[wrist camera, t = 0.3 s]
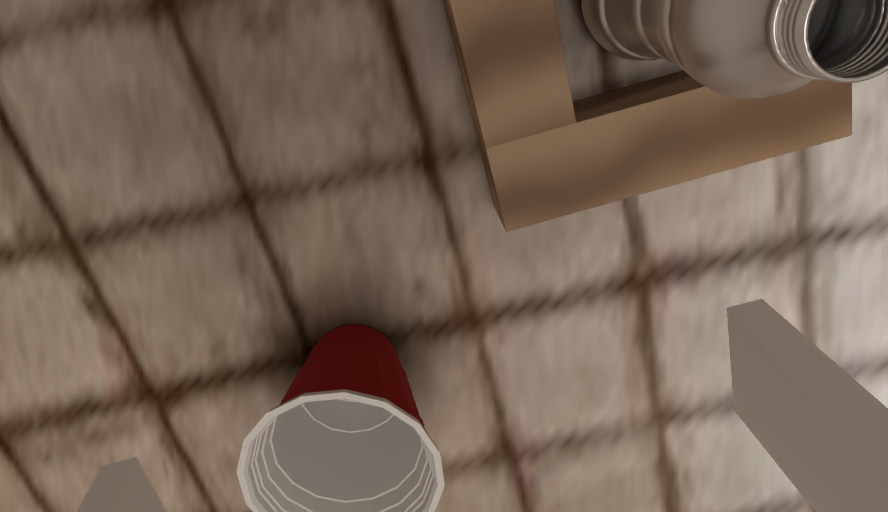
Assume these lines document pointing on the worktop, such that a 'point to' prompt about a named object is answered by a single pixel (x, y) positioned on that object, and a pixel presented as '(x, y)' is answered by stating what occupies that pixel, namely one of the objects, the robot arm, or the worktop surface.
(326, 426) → the plastic cup
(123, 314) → the worktop surface
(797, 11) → the plastic bottle
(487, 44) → the walnut frame
